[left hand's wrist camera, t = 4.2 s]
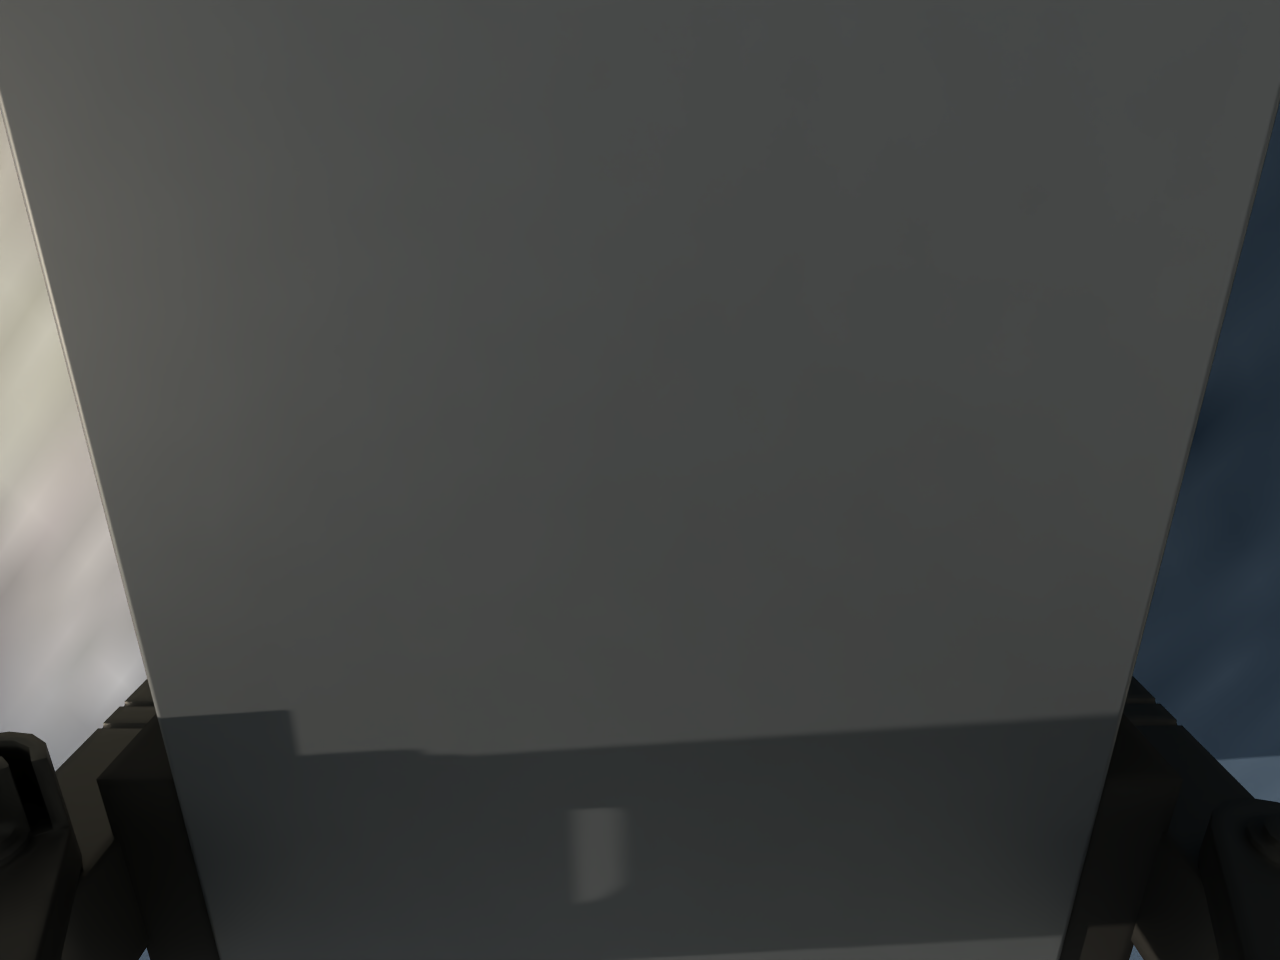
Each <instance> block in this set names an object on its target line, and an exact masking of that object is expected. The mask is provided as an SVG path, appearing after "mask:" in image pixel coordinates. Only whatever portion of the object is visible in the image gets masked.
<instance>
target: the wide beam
mask: <svg viewBox="0 0 1280 960" xmlns="http://www.w3.org/2000/svg"><path fill="white" fill-rule="evenodd" d="M1279 102H1280V0H0V110H1V114H2V117H3V121H4V125H5V129H6V133H7V137H8V141H9V145H10V148H11V152H12V156H13V160H14V164H15V168H16V172H17V175H18V179H19V183H20V187H21V191H22V195H23V199H24V203H25V206H26V210H27V214H28V218H29V222H30V226H31V230H32V234H33V237H34V241H35V245H36V249H37V253H38V257H39V261H40V265H41V268H42V272H43V276H44V280H45V284H46V288H47V292H48V296H49V299H50V303H51V307H52V311H53V315H54V319H55V323H56V326H57V330H58V334H59V338H60V342H61V346H62V350H63V354H64V357H65V361H66V365H67V369H68V373H69V377H70V381H71V385H72V388H73V392H74V396H75V400H76V404H77V408H78V412H79V416H80V419H81V423H82V427H83V431H84V435H85V439H86V443H87V447H88V450H89V454H90V458H91V462H92V466H93V470H94V474H95V477H96V481H97V485H98V489H99V493H100V497H101V501H102V505H103V508H104V512H105V516H106V520H107V524H108V528H109V532H110V536H111V539H112V543H113V547H114V551H115V555H116V559H117V563H118V567H119V570H120V574H121V578H122V582H123V586H124V590H125V594H126V598H127V601H128V605H129V609H130V613H131V617H132V621H133V625H134V628H135V632H136V636H137V640H138V644H139V648H140V652H141V656H142V659H143V663H144V667H145V671H146V675H147V679H148V683H149V687H150V690H151V694H152V698H153V702H154V706H155V710H156V714H157V718H158V721H159V725H160V729H161V733H162V737H163V741H164V745H165V749H166V752H167V756H168V760H169V764H170V768H171V772H172V776H173V779H174V783H175V787H176V791H177V795H178V799H179V803H180V807H181V810H182V814H183V818H184V822H185V826H186V830H187V834H188V838H189V841H190V845H191V849H192V853H193V857H194V861H195V865H196V869H197V872H198V876H199V880H200V884H201V888H202V892H203V896H204V900H205V903H206V907H207V911H208V915H209V919H210V923H211V927H212V931H213V934H214V938H215V942H216V946H217V950H218V954H219V958H220V960H1059V959H1060V955H1061V951H1062V947H1063V943H1064V939H1065V935H1066V931H1067V927H1068V924H1069V920H1070V916H1071V912H1072V908H1073V904H1074V900H1075V896H1076V892H1077V889H1078V885H1079V881H1080V877H1081V873H1082V869H1083V865H1084V861H1085V857H1086V854H1087V850H1088V846H1089V842H1090V838H1091V834H1092V830H1093V826H1094V822H1095V818H1096V815H1097V811H1098V807H1099V803H1100V799H1101V795H1102V791H1103V787H1104V783H1105V780H1106V776H1107V772H1108V768H1109V764H1110V760H1111V756H1112V752H1113V748H1114V744H1115V741H1116V737H1117V733H1118V729H1119V725H1120V721H1121V717H1122V713H1123V709H1124V706H1125V702H1126V698H1127V694H1128V690H1129V686H1130V682H1131V678H1132V674H1133V671H1134V667H1135V663H1136V659H1137V655H1138V651H1139V647H1140V643H1141V639H1142V635H1143V632H1144V628H1145V624H1146V620H1147V616H1148V612H1149V608H1150V604H1151V600H1152V597H1153V593H1154V589H1155V585H1156V581H1157V577H1158V573H1159V569H1160V565H1161V561H1162V558H1163V554H1164V550H1165V546H1166V542H1167V538H1168V534H1169V530H1170V526H1171V523H1172V519H1173V515H1174V511H1175V507H1176V503H1177V499H1178V495H1179V491H1180V488H1181V484H1182V480H1183V476H1184V472H1185V468H1186V464H1187V460H1188V456H1189V452H1190V449H1191V445H1192V441H1193V437H1194V433H1195V429H1196V425H1197V421H1198V417H1199V414H1200V410H1201V406H1202V402H1203V398H1204V394H1205V390H1206V386H1207V382H1208V379H1209V375H1210V371H1211V367H1212V363H1213V359H1214V355H1215V351H1216V347H1217V343H1218V340H1219V336H1220V332H1221V328H1222V324H1223V320H1224V316H1225V312H1226V308H1227V305H1228V301H1229V297H1230V293H1231V289H1232V285H1233V281H1234V277H1235V273H1236V269H1237V266H1238V262H1239V258H1240V254H1241V250H1242V246H1243V242H1244V238H1245V234H1246V231H1247V227H1248V223H1249V219H1250V215H1251V211H1252V207H1253V203H1254V199H1255V196H1256V192H1257V188H1258V184H1259V180H1260V176H1261V172H1262V168H1263V164H1264V160H1265V157H1266V153H1267V149H1268V145H1269V141H1270V137H1271V133H1272V129H1273V125H1274V122H1275V118H1276V114H1277V110H1278V106H1279Z"/></svg>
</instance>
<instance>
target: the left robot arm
mask: <svg viewBox="0 0 1280 960" xmlns="http://www.w3.org/2000/svg"><path fill="white" fill-rule="evenodd" d="M1133 945H1134V946H1135V947H1136V949H1137V950H1138V952H1139V953H1140V955H1141V956H1142V958H1143V959H1144V960H1280V803H1278V802H1273V801H1266V800H1260V799H1255V798H1254V797H1253V796H1252V795H1251V794H1250V793H1249V792H1248V791H1247V790H1246V789H1245V788H1244V787H1243V786H1242V785H1241V784H1240V783H1239V782H1238V781H1237V780H1236V779H1235V778H1234V777H1233V776H1232V775H1231V774H1230V773H1229V772H1228V771H1227V770H1226V769H1225V768H1224V767H1223V766H1222V765H1221V764H1220V763H1219V762H1218V761H1217V760H1216V759H1215V758H1214V757H1213V756H1212V755H1211V754H1210V753H1209V752H1208V751H1207V750H1206V749H1205V748H1204V747H1203V746H1202V745H1201V744H1200V743H1199V742H1198V741H1197V740H1196V739H1195V738H1194V737H1193V736H1192V735H1191V734H1190V733H1189V732H1188V731H1187V730H1186V729H1185V728H1184V727H1183V726H1178V725H1177V723H1176V719H1175V718H1174V717H1173V716H1172V715H1171V714H1170V713H1169V712H1168V711H1167V710H1166V709H1165V708H1164V707H1163V706H1162V705H1161V704H1156V703H1155V698H1154V697H1153V696H1152V695H1151V694H1150V693H1149V692H1148V691H1147V690H1146V689H1145V688H1144V687H1143V686H1142V685H1141V684H1140V683H1139V682H1138V681H1137V680H1136V679H1135V678H1134V677H1133V676H1132V678H1131V682H1130V686H1129V690H1128V694H1127V698H1126V702H1125V706H1124V709H1123V713H1122V717H1121V721H1120V725H1119V729H1118V733H1117V737H1116V741H1115V744H1114V748H1113V752H1112V756H1111V760H1110V764H1109V768H1108V772H1107V776H1106V780H1105V783H1104V787H1103V791H1102V795H1101V799H1100V803H1099V807H1098V811H1097V815H1096V818H1095V822H1094V826H1093V830H1092V834H1091V838H1090V842H1089V846H1088V850H1087V854H1086V857H1085V861H1084V865H1083V869H1082V873H1081V877H1080V881H1079V885H1078V889H1077V892H1076V896H1075V900H1074V904H1073V908H1072V912H1071V916H1070V920H1069V924H1068V927H1067V931H1066V935H1065V939H1064V943H1063V947H1062V951H1061V955H1060V959H1059V960H1129V958H1130V955H1131V952H1132V948H1133ZM146 947H147V950H148V954H149V957H150V960H220V958H219V954H218V950H217V946H216V942H215V938H214V934H213V931H212V927H211V923H210V919H209V915H208V911H207V907H206V903H205V900H204V896H203V892H202V888H201V884H200V880H199V876H198V872H197V869H196V865H195V861H194V857H193V853H192V849H191V845H190V841H189V838H188V834H187V830H186V826H185V822H184V818H183V814H182V810H181V807H180V803H179V799H178V795H177V791H176V787H175V783H174V779H173V776H172V772H171V768H170V764H169V760H168V756H167V752H166V749H165V745H164V741H163V737H162V733H161V729H160V725H159V721H158V718H157V714H156V710H155V706H154V702H153V698H152V694H151V690H150V687H149V683H148V679H147V680H146V681H145V682H144V683H143V684H142V685H141V686H140V687H139V688H138V689H137V690H136V691H135V692H134V693H133V694H132V695H131V696H130V697H129V698H128V699H127V700H126V701H125V706H124V707H119V708H118V709H117V710H116V711H115V712H114V713H113V714H112V715H111V716H110V717H109V718H108V719H107V720H106V721H105V722H104V726H103V728H102V729H97V730H96V731H95V732H94V733H93V734H92V735H91V736H90V737H89V738H88V739H87V740H86V741H85V742H84V743H83V744H82V745H81V746H80V747H79V748H78V749H77V750H76V751H75V752H74V753H73V754H72V755H71V756H70V757H69V758H68V759H67V760H66V761H65V762H64V763H63V764H62V765H61V766H60V767H59V769H58V770H57V771H56V772H55V770H54V767H53V764H52V761H51V758H50V755H49V752H48V749H47V745H46V743H45V742H43V741H42V740H40V739H39V738H38V737H36V736H35V735H33V734H27V733H17V732H3V733H0V960H139V958H140V957H141V955H142V953H143V952H144V950H145V949H146Z"/></svg>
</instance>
